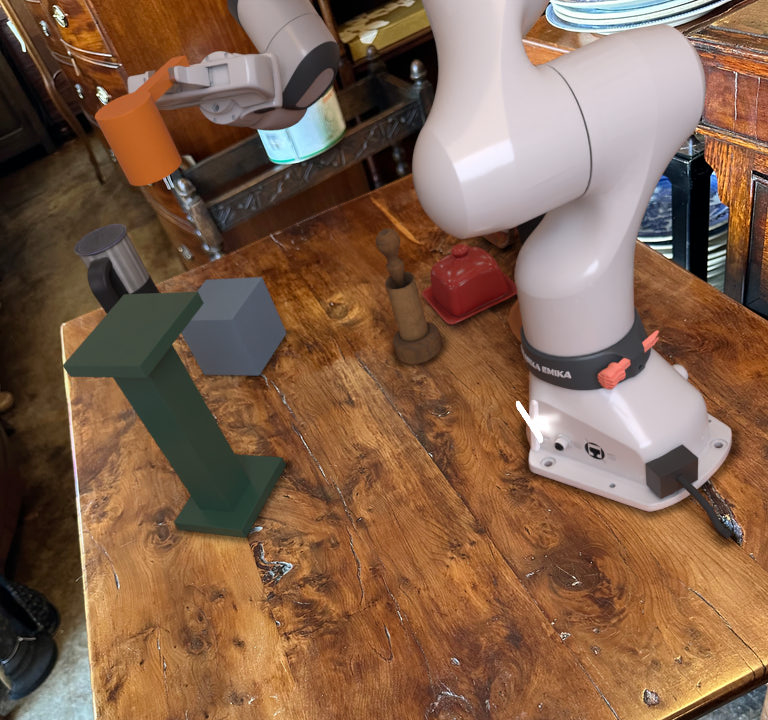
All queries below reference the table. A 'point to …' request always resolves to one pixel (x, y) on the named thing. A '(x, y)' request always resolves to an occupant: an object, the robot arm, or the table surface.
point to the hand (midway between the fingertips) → (161, 76)
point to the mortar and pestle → (407, 306)
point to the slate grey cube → (234, 327)
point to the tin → (503, 237)
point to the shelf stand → (177, 410)
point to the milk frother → (113, 265)
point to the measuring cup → (142, 130)
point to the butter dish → (466, 284)
